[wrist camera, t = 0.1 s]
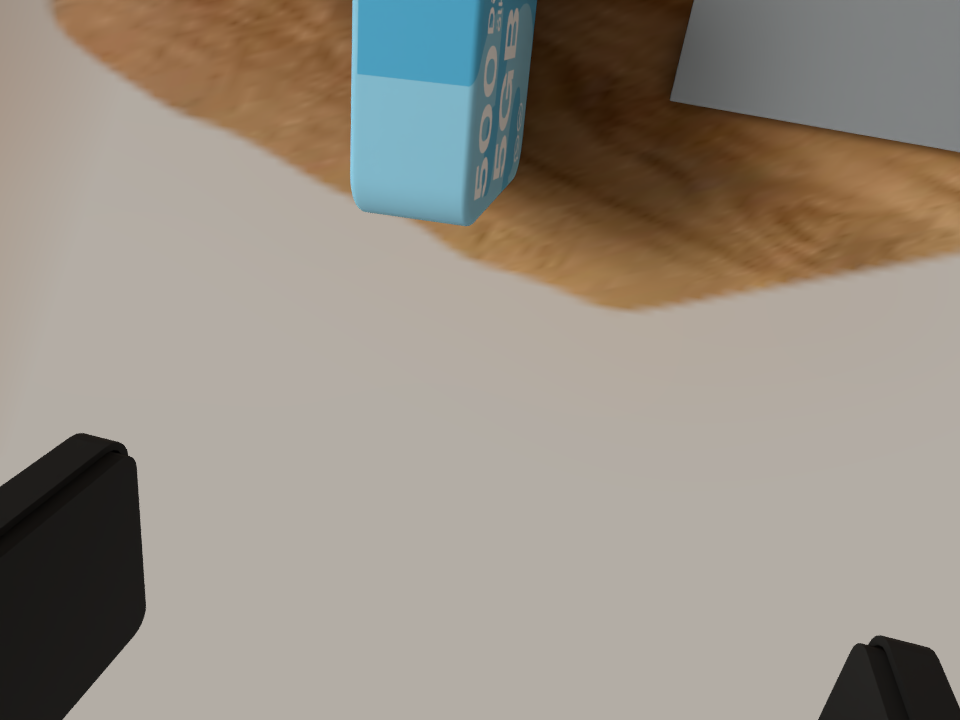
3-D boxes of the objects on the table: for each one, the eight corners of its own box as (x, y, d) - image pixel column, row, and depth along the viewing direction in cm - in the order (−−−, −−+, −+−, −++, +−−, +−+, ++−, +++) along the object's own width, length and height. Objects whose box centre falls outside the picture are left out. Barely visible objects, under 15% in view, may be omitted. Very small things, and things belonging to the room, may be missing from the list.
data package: (519, 176, 39) (464, 236, 28) (432, 164, 39) (347, 220, 29) (548, -99, 34) (495, -153, 23) (448, -107, 34) (351, -162, 24)
